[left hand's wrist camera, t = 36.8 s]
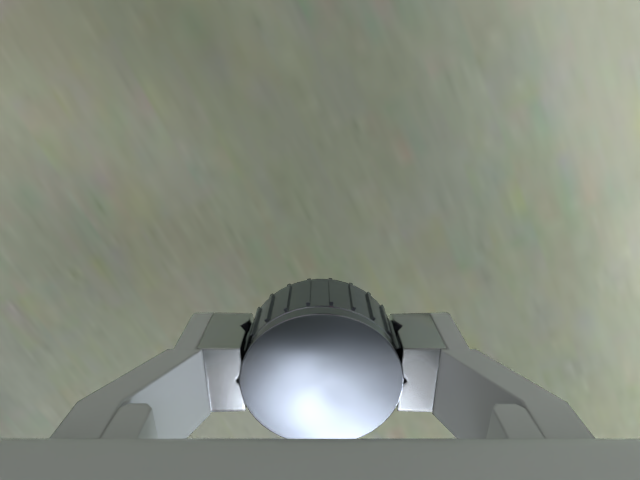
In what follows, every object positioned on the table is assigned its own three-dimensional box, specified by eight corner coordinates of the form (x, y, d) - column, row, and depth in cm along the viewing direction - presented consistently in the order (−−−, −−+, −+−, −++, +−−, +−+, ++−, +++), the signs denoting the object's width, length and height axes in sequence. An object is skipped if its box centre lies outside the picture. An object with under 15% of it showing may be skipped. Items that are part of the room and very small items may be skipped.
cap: (424, 336, 10) (442, 379, 9) (326, 419, 11) (327, 470, 10) (315, 246, 9) (314, 277, 8) (219, 345, 10) (202, 390, 9)
